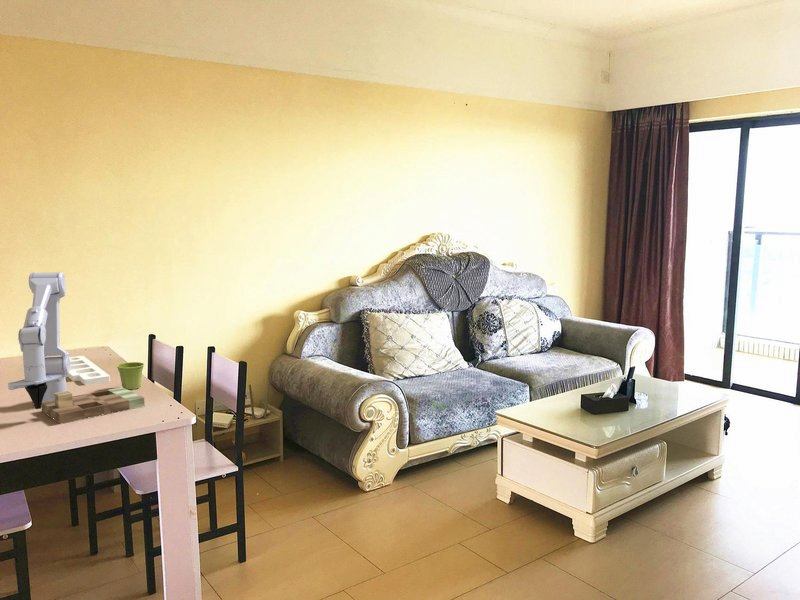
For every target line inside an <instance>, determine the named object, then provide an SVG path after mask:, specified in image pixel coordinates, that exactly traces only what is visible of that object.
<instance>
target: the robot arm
mask: <svg viewBox="0 0 800 600" xmlns="http://www.w3.org/2000/svg"><path fill="white" fill-rule="evenodd" d="M28 287H29V289H30V291H31V293H32V294H33V297H32V306H31V307H30V308H28V310H27V312H26V315H25V319H24V323H23V326H22V328H19V330H18V337H17V339H18V344H19V348H20V352H21V353H22V361H23V363H22V364H23V373H24V379H21V380H16V381H12V382H8V383H7V386H8V388H7V389H8V390H9V391H14V390H17V389H23V388H24V389H25V391H26V392H27V394H28V395H29V397H30V399H31V403H32V404H33V408H34V409H35V410H39V409H41V410H42V408H41V405H42V402H45V401H51V400H55V399H54V393H58V392H64V391H67V382H66V381H67V380H66V378H67V377H65V375H67V374H68V373H69V372H70V359H69V357H70V354H69V352H68V350H65V349H64V348H63V347H61V342H60V336H61V335H60V332H61V331H60V329H61V328H60V302H61V299H62V298H64V297H65V296H66V277H65V275H64V273H63V271H58V272H51V271H50V272H34V271H33V272H31V273H30V274H29V276H28Z"/></svg>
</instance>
